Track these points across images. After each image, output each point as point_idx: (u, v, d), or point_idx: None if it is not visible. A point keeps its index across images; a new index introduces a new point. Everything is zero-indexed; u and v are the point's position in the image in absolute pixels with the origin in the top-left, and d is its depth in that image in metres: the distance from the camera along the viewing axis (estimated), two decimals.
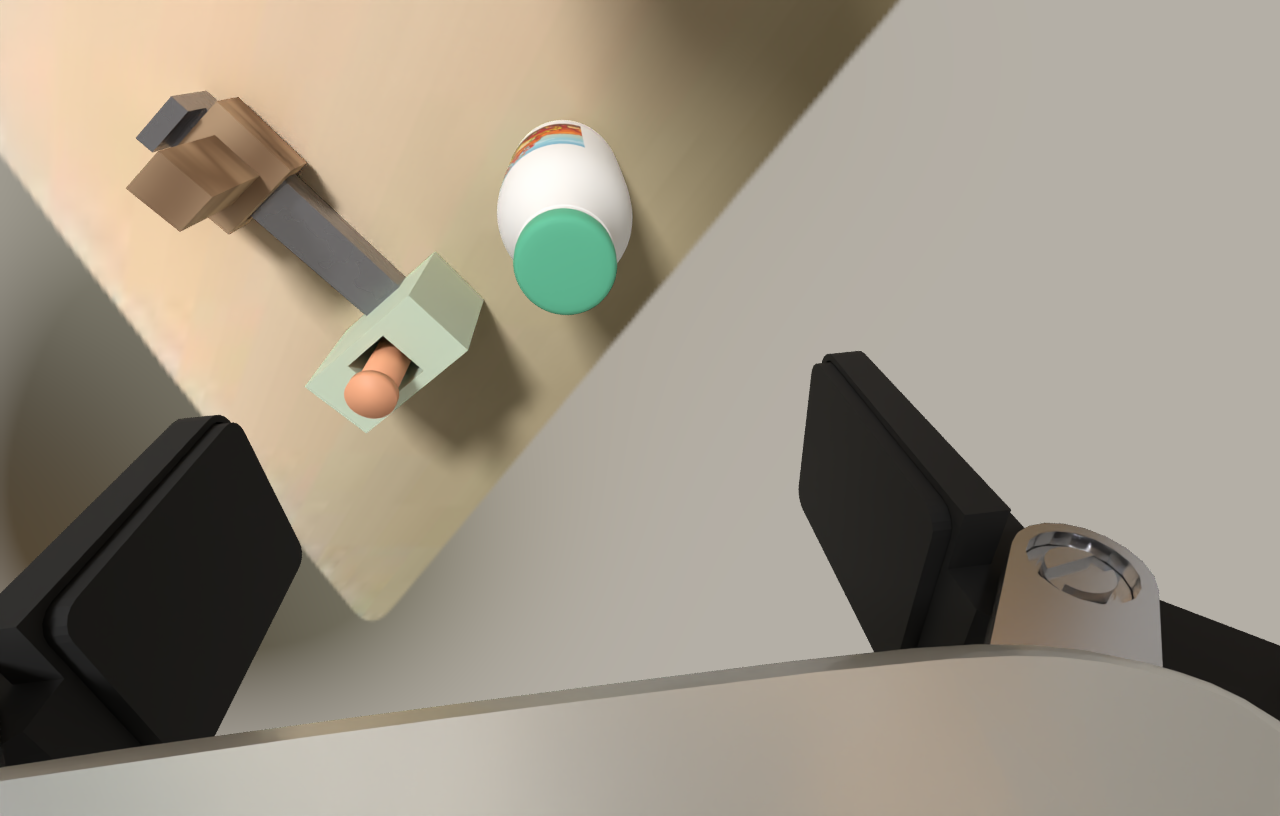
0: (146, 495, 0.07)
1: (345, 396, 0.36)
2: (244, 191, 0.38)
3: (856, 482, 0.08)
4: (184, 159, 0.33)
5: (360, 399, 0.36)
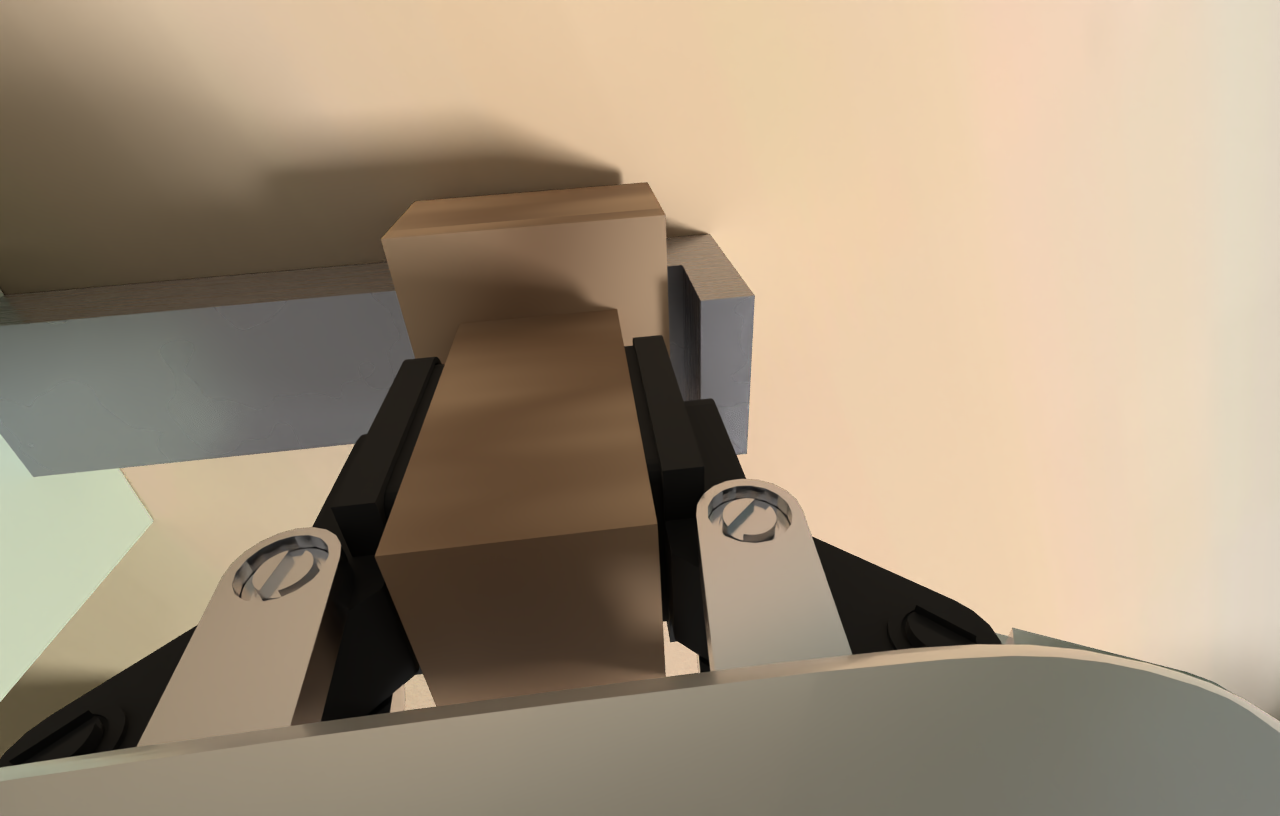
0: (414, 415, 0.09)
1: None
2: None
3: None
4: None
5: None
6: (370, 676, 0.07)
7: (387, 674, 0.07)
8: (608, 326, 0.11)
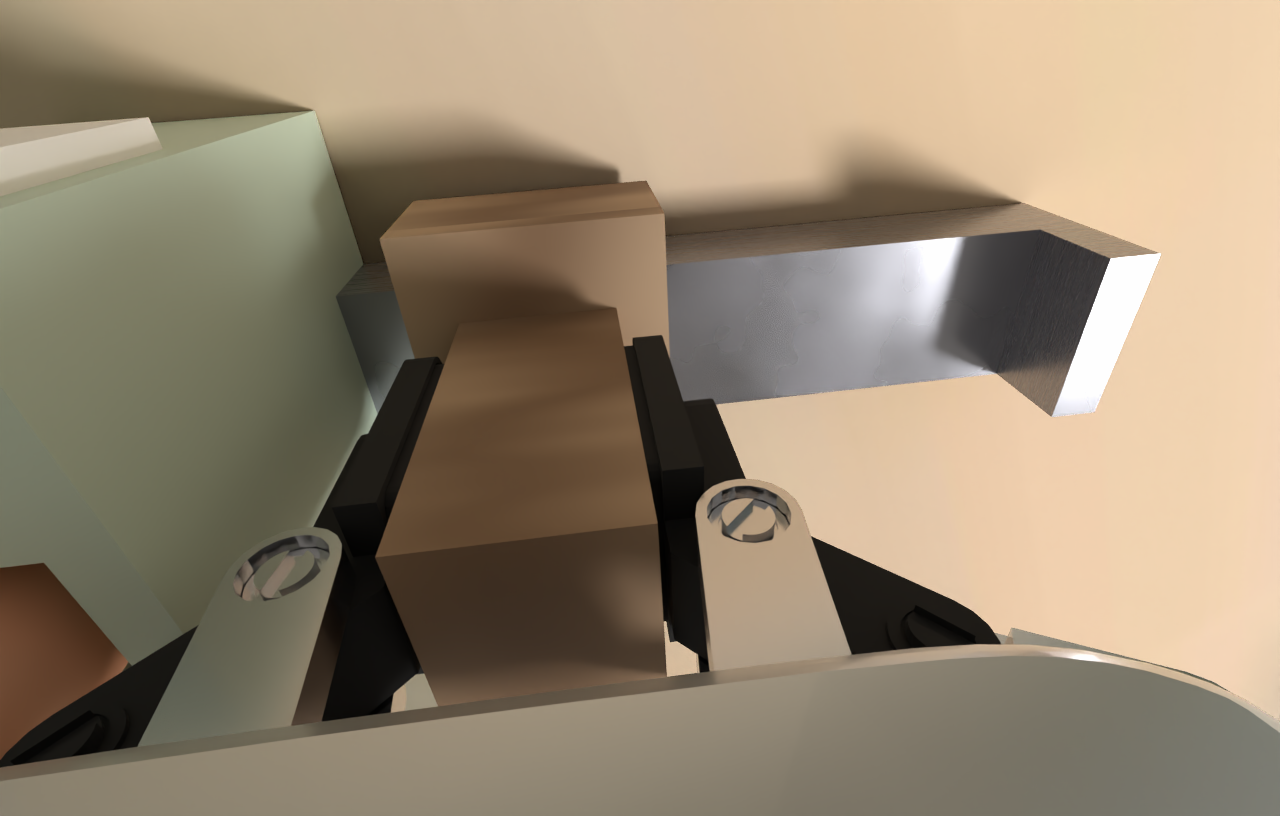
0: (415, 414, 0.09)
1: None
2: None
3: None
4: None
5: None
6: (371, 676, 0.07)
7: (388, 674, 0.07)
8: (608, 325, 0.11)
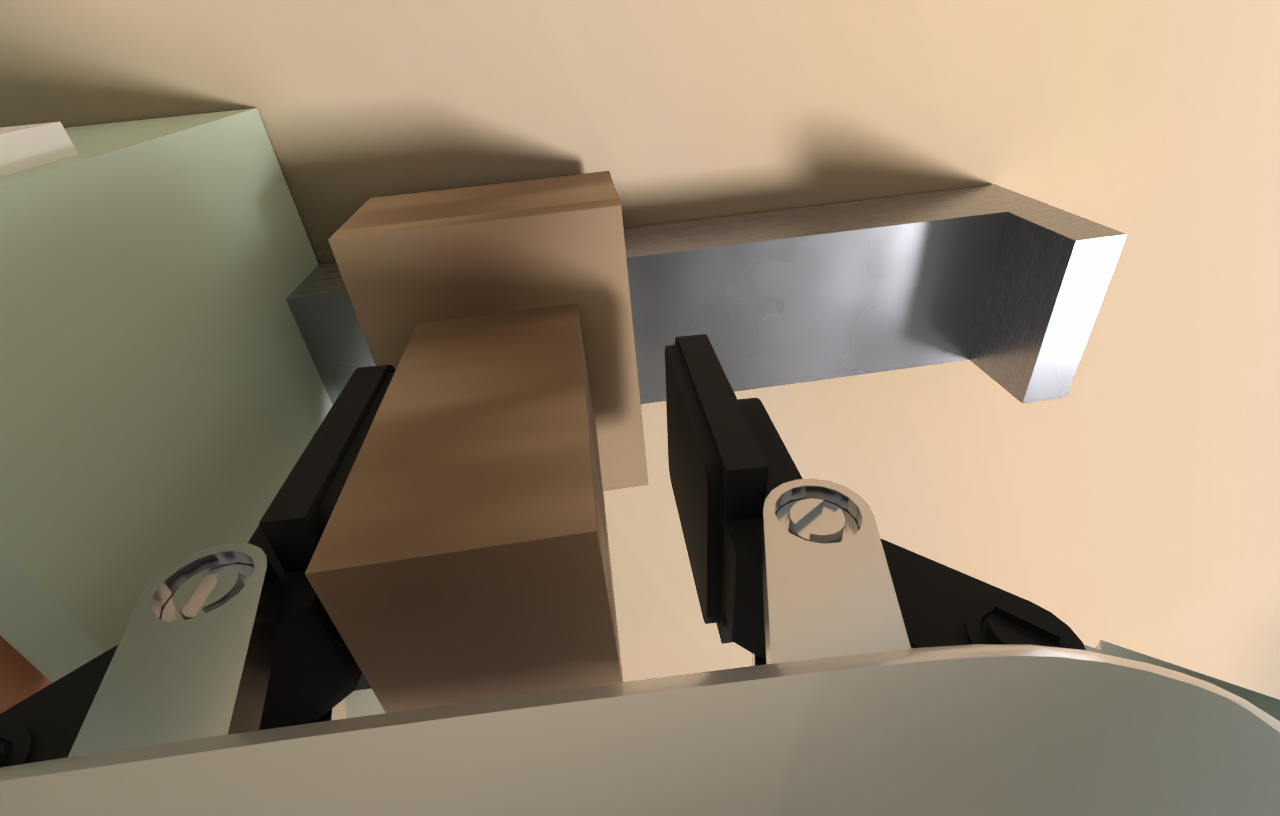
0: (359, 425, 0.08)
1: None
2: None
3: (684, 451, 0.09)
4: None
5: None
6: (307, 688, 0.07)
7: (321, 692, 0.07)
8: (566, 322, 0.11)
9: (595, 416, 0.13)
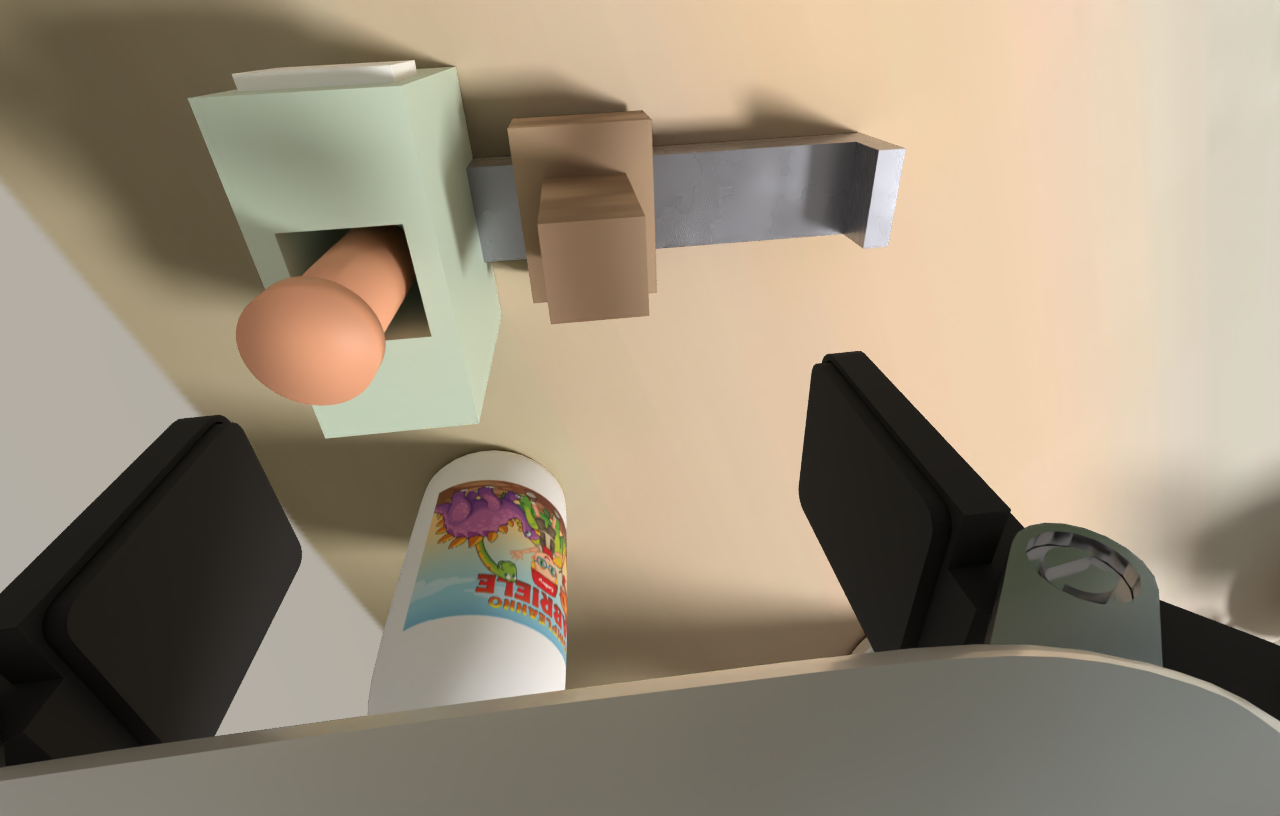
0: (146, 495, 0.07)
1: (339, 306, 0.13)
2: None
3: (856, 482, 0.08)
4: None
5: (314, 329, 0.14)
6: None
7: None
8: (621, 177, 0.21)
9: None
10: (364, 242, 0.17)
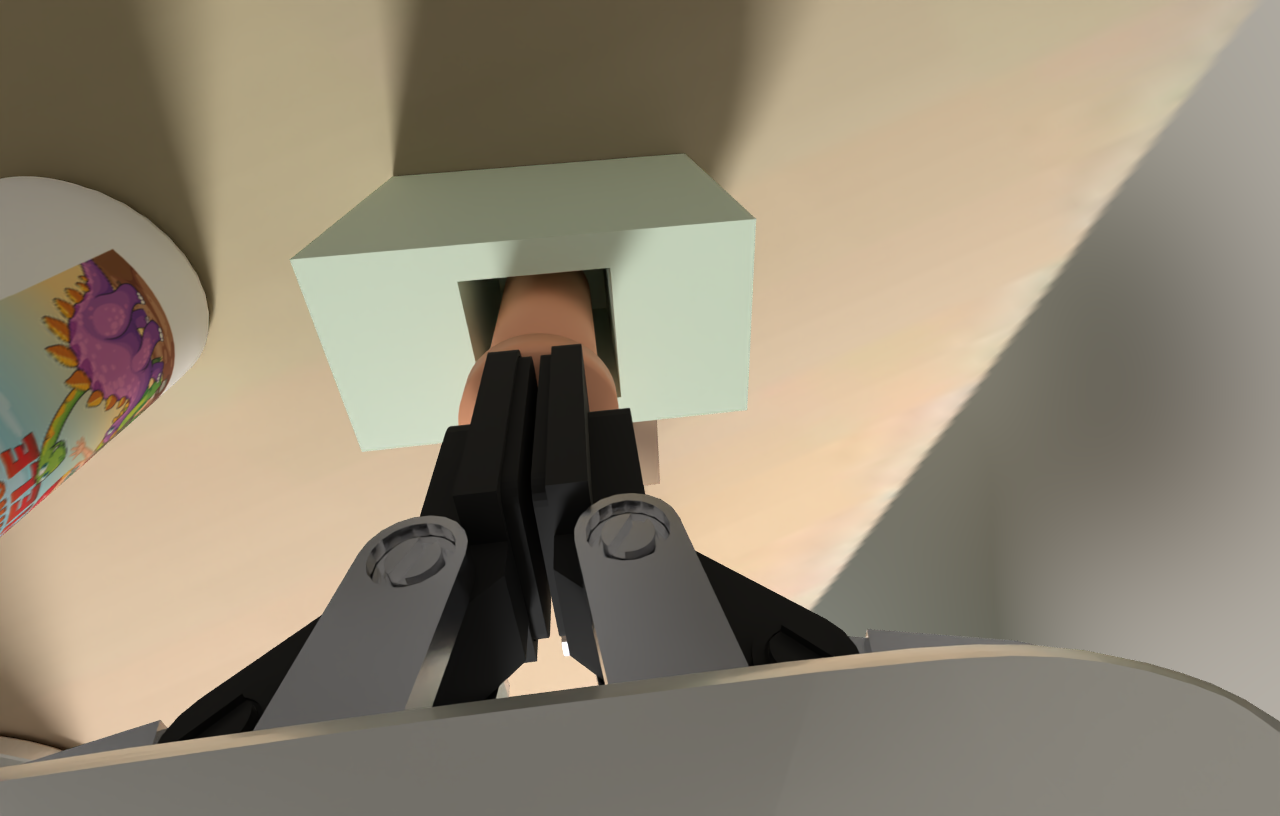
0: (511, 406, 0.09)
1: None
2: None
3: None
4: None
5: None
6: (478, 674, 0.07)
7: (501, 661, 0.07)
8: None
9: None
10: None
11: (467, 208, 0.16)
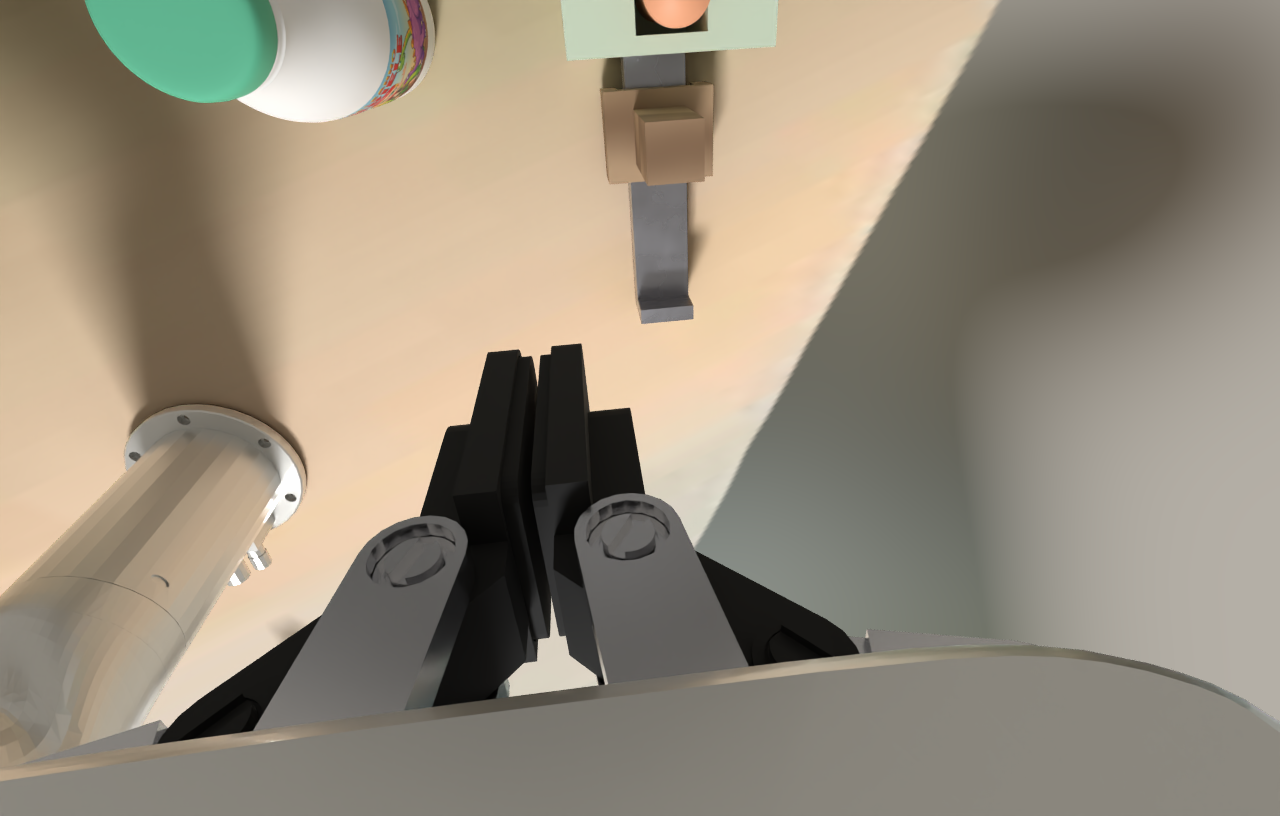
0: (511, 406, 0.09)
1: (701, 13, 0.26)
2: (659, 107, 0.34)
3: None
4: (644, 166, 0.32)
5: None
6: (478, 674, 0.07)
7: (501, 662, 0.07)
8: None
9: None
10: None
11: None
